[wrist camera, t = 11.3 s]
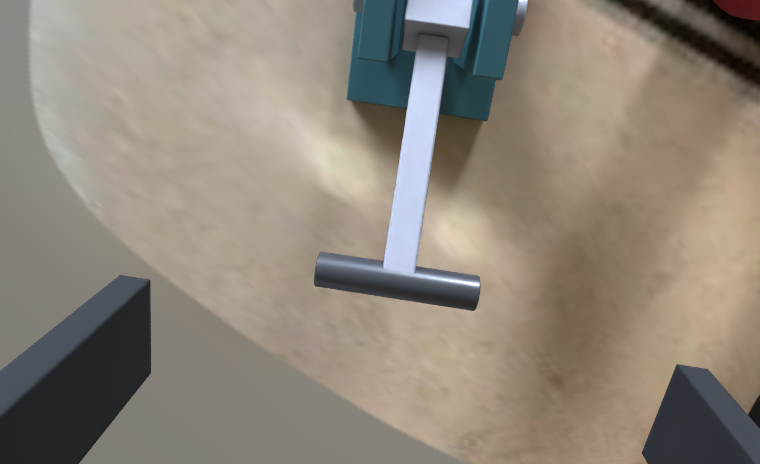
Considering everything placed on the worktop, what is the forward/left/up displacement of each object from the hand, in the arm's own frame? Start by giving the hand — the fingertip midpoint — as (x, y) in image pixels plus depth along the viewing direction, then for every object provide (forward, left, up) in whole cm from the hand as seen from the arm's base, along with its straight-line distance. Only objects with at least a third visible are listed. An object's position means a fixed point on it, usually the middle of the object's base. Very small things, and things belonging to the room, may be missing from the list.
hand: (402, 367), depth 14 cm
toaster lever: (+3, +3, -8) cm, 10 cm away
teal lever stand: (+6, +7, -20) cm, 22 cm away
